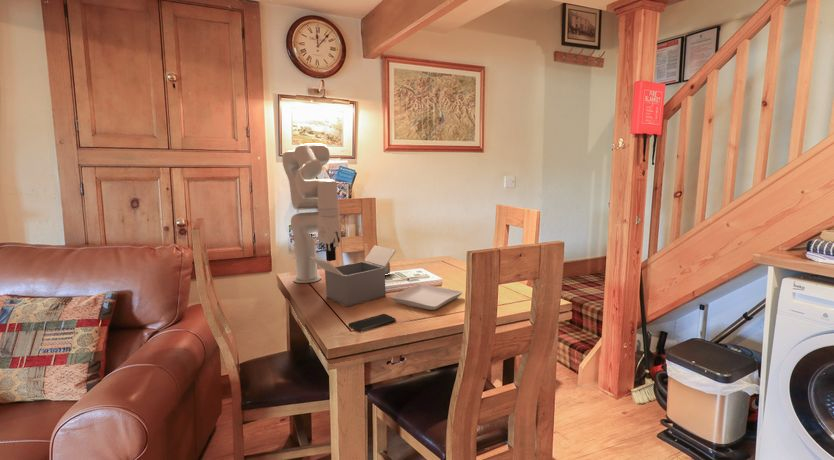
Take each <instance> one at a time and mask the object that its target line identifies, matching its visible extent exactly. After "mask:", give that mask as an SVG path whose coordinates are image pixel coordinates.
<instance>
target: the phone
mask: <svg viewBox="0 0 834 460" xmlns="http://www.w3.org/2000/svg"><path fill="white" fill-rule="evenodd" d="M396 322H397V319H396V318H395V317H394V316H393V317H392V316H390V315H389V314H386V313H381V314H378V315H373V316H371V317H366V318H363V319H360V320H359V319H358V320H356V321H352V322H348V327H349V328H350V327H351V328H350V329H352V328H353V329H354V330H353V329H352V330H353V331H355V330H356V331H355V332H357V331H358V332H357V333H362V332H361V331H363V332H366V331H369V330H373V329H376V327H377V328H380V327H383V326H387V325H390V324H393V323H396Z"/></svg>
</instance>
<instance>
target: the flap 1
mask: <svg viewBox="0 0 834 460" xmlns="http://www.w3.org/2000/svg"><path fill="white" fill-rule="evenodd" d="M310 258H311V259H312V260H313V261H314V262H316V263H317V266H319V267H320V268H321V269H323V270H324V271H325V270H327V271H330V272H332V273H335V274H338V275H341V276H343V274H342V273H341V272H340V271H339V270H338V269H337V268H335V267H336V266H335V265H334V264H332V263H331V261H327V260H324V259H320V258H318V257H316V258H315V257H311V256H310Z"/></svg>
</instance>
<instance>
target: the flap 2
mask: <svg viewBox="0 0 834 460" xmlns="http://www.w3.org/2000/svg"><path fill="white" fill-rule="evenodd" d="M396 252H397V249H393V248H390V247H385V246H380V245H376V244H374V245H373V246H372V248H371V250H370V251H369V252H368V254H367V255H366V257H365V259H364V261H363V262H366V263H370V264H372V263H373V264H376V265H380V266H383V267H386V265H387V264H388V262H389V263H390V261H391V260H392V258H393V256H394V255H395V254H396Z"/></svg>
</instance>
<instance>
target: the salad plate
mask: <svg viewBox="0 0 834 460" xmlns="http://www.w3.org/2000/svg"><path fill="white" fill-rule="evenodd" d="M462 294H463V291H460V290H455V289H451V288H445V287H438V286H434V285H426V284H417V285H414V286H411V287H409V288H406V289H404V290H402V291H399V292H397V293H395V294H392V295H390V296H389V299H390V300H392V301H393V302H395V303H398V304H401V305H403V306H408V307H409V306H410V307H414V308H418V309H422V310H428V311H429V310H430V311H435V310H437V309H439V308H440V307H443V306H444V305H446V304H448V303H449V302H452V301H453V300H455V299H457V298H459V297H460V296H461V295H462Z"/></svg>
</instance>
